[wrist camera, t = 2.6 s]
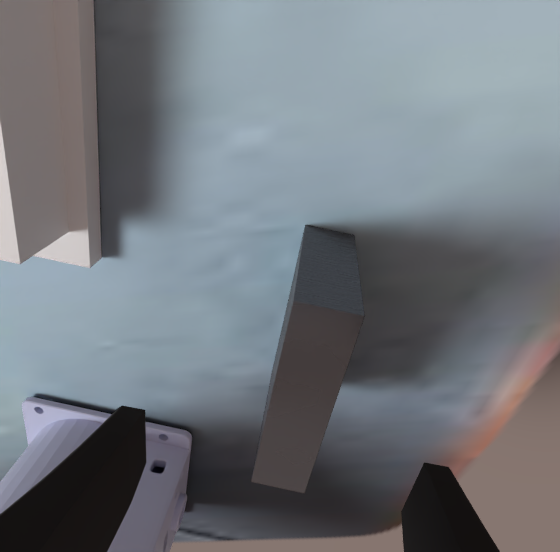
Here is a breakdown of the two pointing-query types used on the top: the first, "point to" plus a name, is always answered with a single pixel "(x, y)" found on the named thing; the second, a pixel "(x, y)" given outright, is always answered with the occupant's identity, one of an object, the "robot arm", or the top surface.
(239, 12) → the top surface
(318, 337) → the rectangular block
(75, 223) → the slot rack
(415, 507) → the robot arm
